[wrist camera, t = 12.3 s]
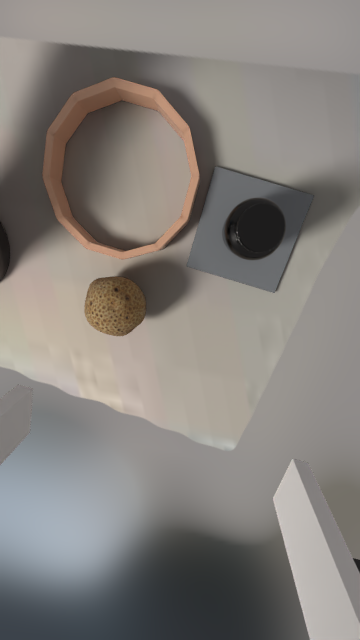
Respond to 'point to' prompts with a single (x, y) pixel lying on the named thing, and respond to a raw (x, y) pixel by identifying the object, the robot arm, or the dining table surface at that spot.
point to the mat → (218, 205)
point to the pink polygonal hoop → (67, 125)
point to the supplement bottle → (254, 229)
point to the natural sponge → (114, 305)
